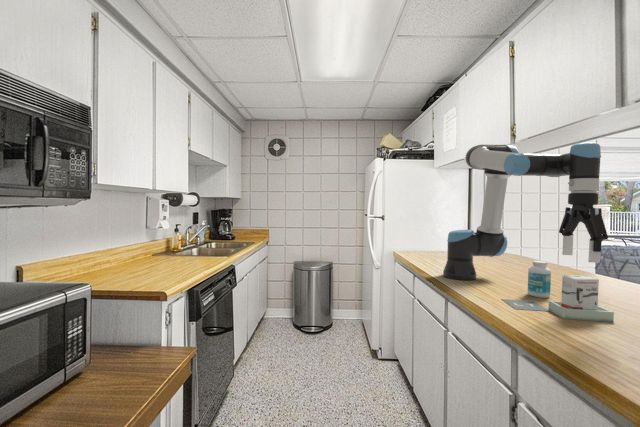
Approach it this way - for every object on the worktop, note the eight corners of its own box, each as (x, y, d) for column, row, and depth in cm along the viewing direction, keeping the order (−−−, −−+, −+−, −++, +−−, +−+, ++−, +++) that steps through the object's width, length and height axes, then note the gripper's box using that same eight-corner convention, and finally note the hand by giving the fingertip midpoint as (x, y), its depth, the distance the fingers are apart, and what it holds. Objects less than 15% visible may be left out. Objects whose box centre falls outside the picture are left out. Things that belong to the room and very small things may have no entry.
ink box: (573, 316, 102) (574, 278, 101) (560, 311, 106) (561, 275, 106) (598, 315, 102) (599, 278, 102) (584, 310, 107) (585, 275, 107)
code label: (501, 299, 121) (501, 299, 121) (533, 301, 120) (533, 300, 120) (515, 309, 110) (515, 308, 110) (551, 311, 108) (551, 311, 108)
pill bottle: (523, 294, 130) (524, 260, 129) (534, 292, 133) (535, 259, 132) (542, 299, 123) (543, 263, 122) (554, 297, 126) (555, 262, 126)
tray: (548, 309, 110) (548, 300, 110) (592, 312, 108) (593, 303, 108) (564, 318, 101) (565, 309, 101) (613, 321, 99) (613, 312, 99)
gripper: (549, 193, 116) (546, 252, 117) (596, 191, 92) (592, 265, 93) (572, 193, 115) (569, 252, 116) (626, 191, 91) (622, 266, 92)
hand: (579, 258), depth 104 cm, fingers open, 13 cm apart
